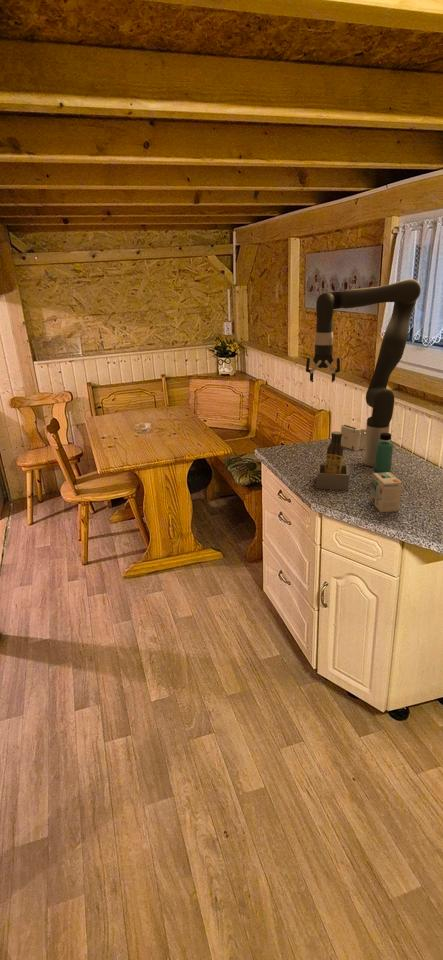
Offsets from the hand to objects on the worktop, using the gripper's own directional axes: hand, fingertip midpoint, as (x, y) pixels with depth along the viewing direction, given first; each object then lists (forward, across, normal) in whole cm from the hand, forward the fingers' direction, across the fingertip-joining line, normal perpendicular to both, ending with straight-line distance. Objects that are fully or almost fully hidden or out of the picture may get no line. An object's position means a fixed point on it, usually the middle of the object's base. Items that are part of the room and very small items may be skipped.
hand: (322, 382), depth 220 cm
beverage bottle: (+34, -25, +28) cm, 51 cm away
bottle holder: (+34, -6, +32) cm, 47 cm away
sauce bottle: (+33, -6, +32) cm, 47 cm away
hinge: (+34, -16, -16) cm, 41 cm away
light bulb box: (+34, -24, +51) cm, 66 cm away
